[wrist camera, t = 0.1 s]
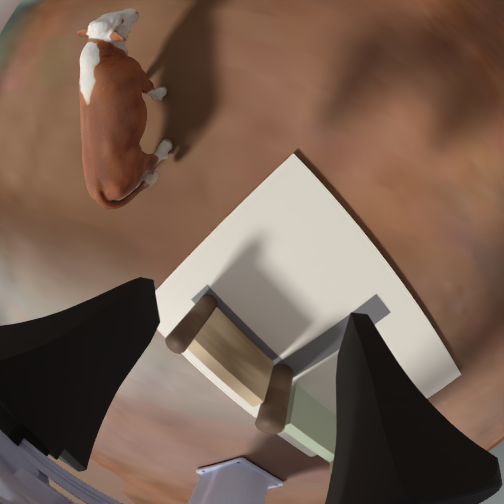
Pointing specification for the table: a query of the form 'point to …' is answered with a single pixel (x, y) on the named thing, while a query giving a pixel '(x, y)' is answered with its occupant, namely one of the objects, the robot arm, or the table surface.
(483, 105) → the table surface
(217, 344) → the fixed fence
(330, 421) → the hinged panel
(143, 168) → the bull figurine
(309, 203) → the board
